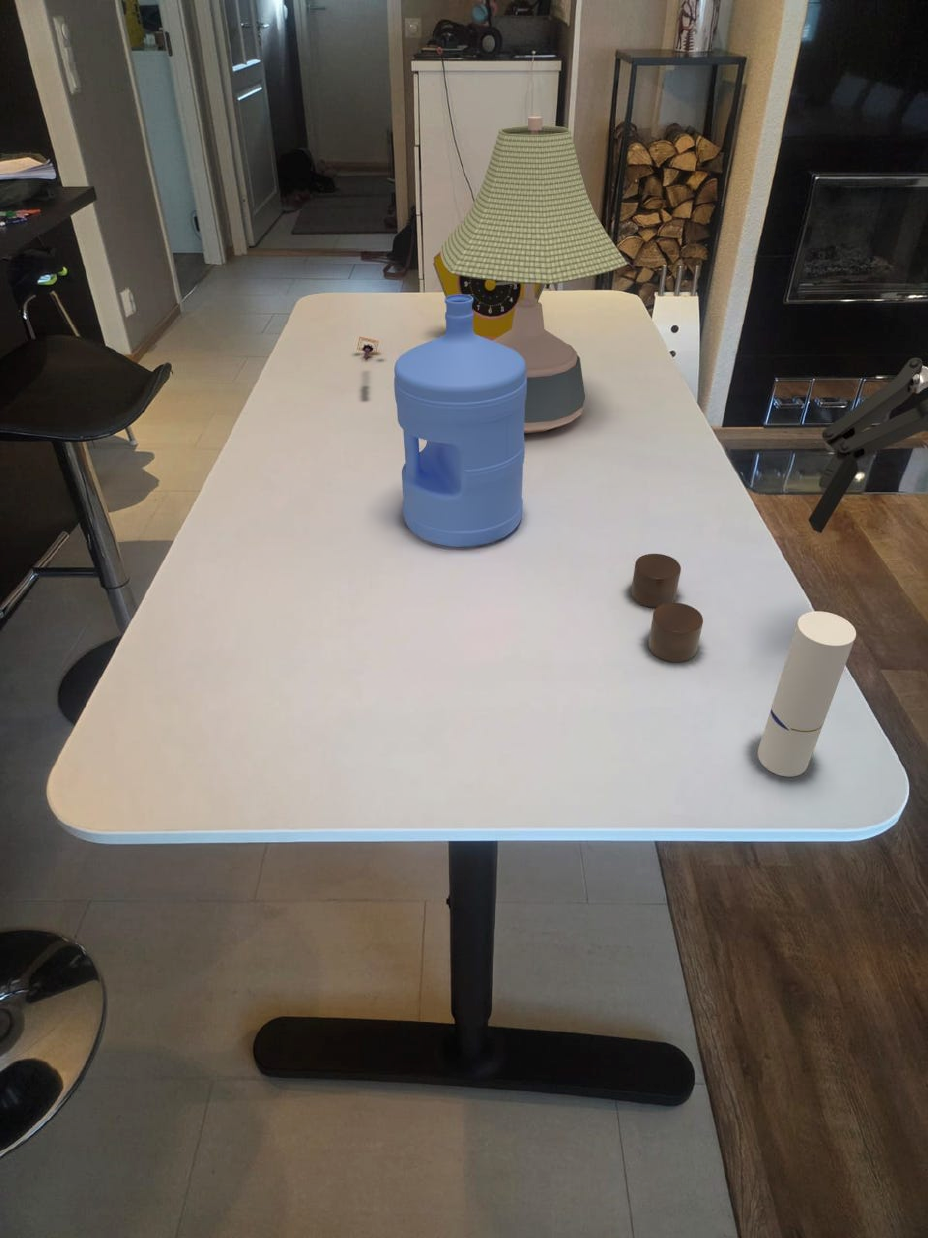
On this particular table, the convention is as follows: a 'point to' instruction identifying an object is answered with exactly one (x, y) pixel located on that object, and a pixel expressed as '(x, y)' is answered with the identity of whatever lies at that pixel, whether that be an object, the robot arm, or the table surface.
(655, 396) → the table surface
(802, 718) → the tube
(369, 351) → the framed picture
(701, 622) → the disc
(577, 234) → the desk lamp
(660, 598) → the brown short cylinder
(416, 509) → the water jug
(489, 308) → the yellow clock
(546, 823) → the table surface
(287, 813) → the table surface
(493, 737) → the table surface
